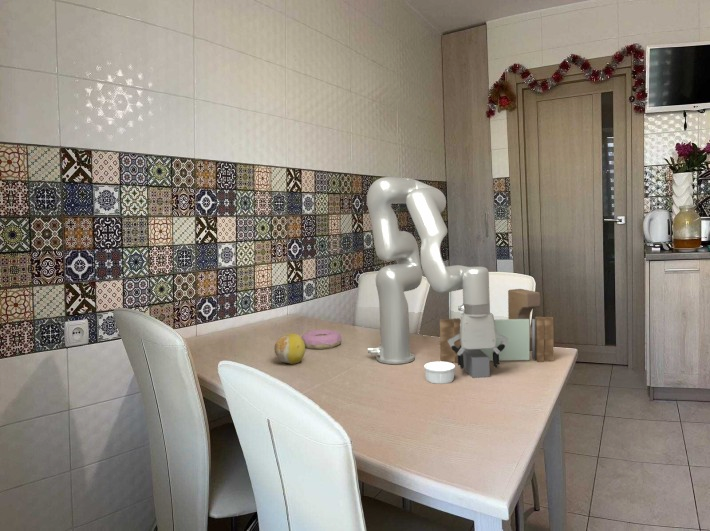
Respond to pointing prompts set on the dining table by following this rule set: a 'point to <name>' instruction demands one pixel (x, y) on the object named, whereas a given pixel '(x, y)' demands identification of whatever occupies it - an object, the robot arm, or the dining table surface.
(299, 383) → the dining table surface
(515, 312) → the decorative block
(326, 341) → the donut
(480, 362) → the grey block
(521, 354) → the door
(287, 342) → the fruit
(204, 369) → the dining table surface
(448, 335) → the frame
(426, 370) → the ramekin
